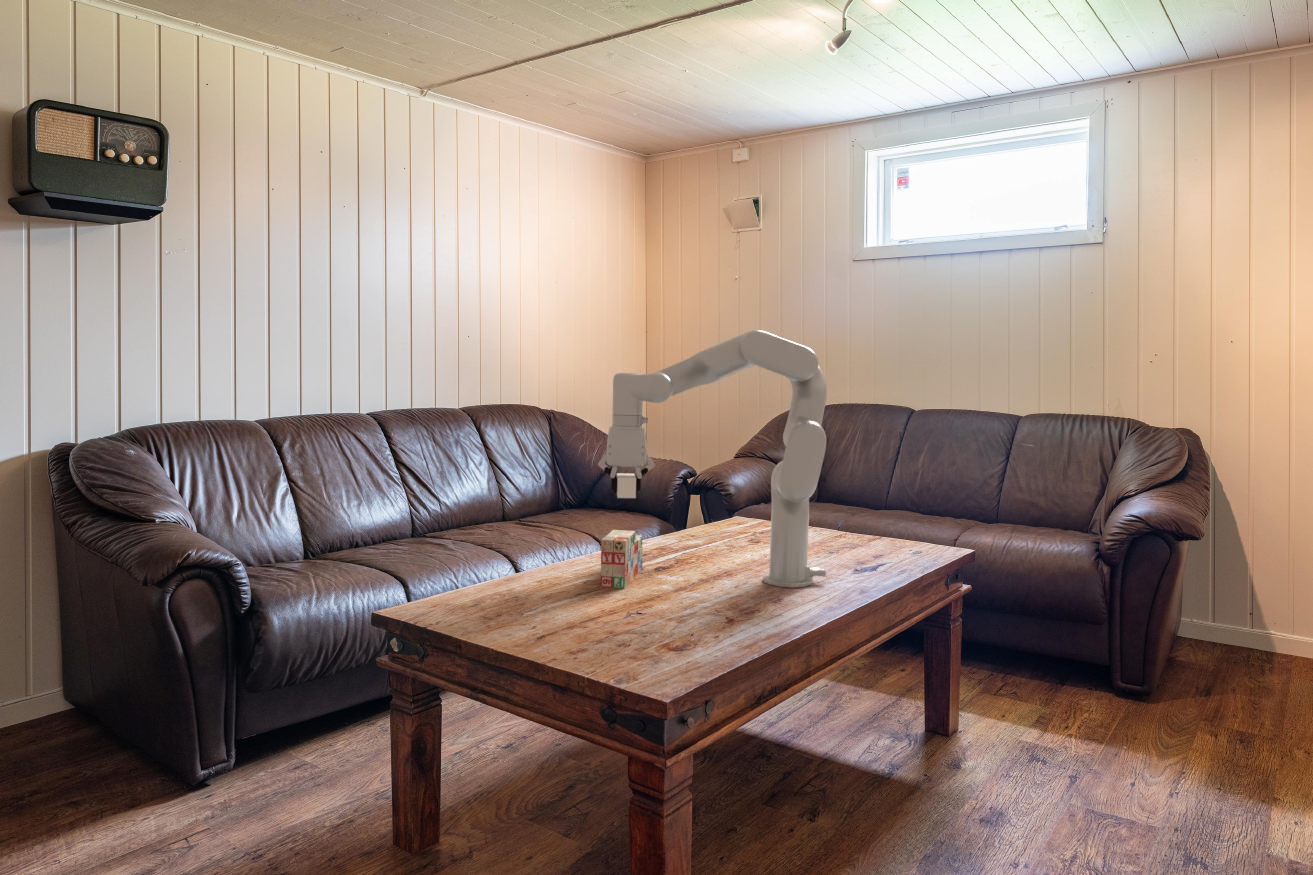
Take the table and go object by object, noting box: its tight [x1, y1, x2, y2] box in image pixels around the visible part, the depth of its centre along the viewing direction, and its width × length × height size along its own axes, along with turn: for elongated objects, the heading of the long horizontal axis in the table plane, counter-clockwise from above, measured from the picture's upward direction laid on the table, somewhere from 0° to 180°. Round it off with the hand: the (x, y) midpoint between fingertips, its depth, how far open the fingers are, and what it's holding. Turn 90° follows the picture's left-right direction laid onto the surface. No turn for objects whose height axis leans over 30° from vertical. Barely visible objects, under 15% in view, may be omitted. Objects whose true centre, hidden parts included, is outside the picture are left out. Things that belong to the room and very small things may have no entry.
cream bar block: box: [616, 472, 637, 499], centre depth 221 cm, size 4×9×5 cm, turn 5°
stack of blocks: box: [600, 529, 643, 590], centre depth 224 cm, size 21×6×12 cm, turn 169°
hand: (625, 492), depth 221 cm, fingers closed on cream bar block, 4 cm apart
